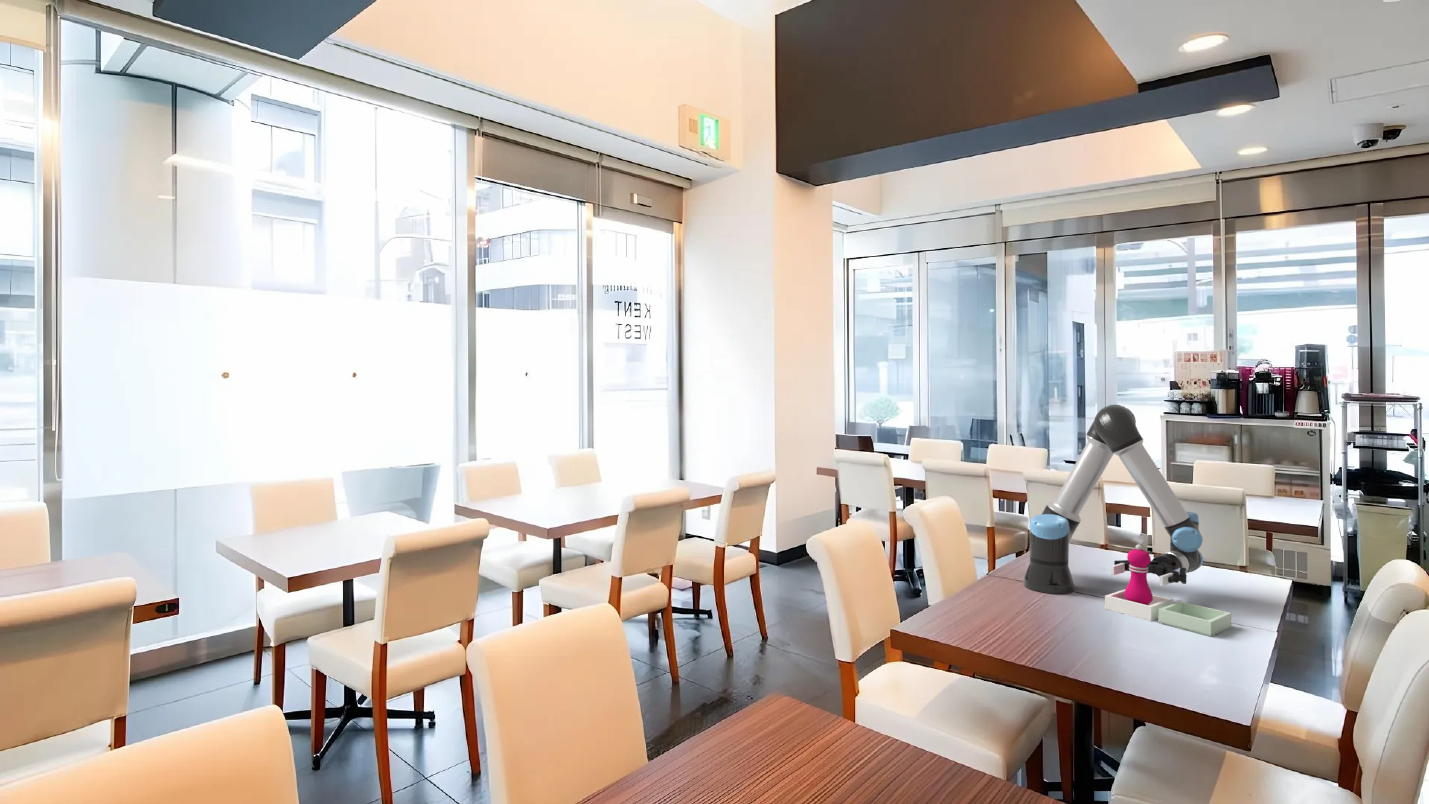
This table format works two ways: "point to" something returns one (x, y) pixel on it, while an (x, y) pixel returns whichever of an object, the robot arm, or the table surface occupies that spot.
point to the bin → (1135, 605)
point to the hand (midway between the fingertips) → (1136, 575)
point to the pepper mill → (1138, 577)
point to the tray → (1195, 618)
